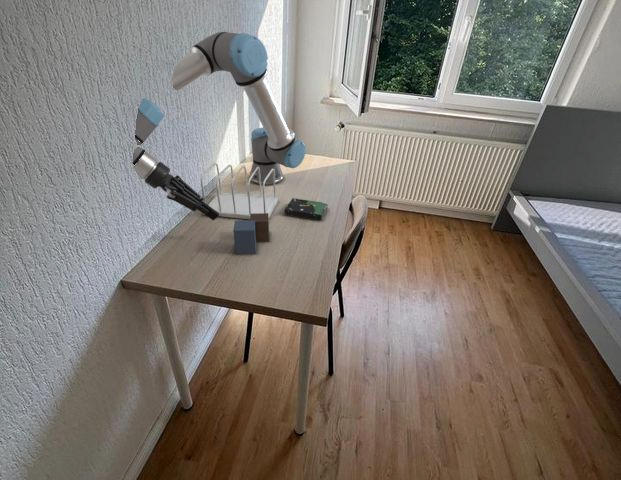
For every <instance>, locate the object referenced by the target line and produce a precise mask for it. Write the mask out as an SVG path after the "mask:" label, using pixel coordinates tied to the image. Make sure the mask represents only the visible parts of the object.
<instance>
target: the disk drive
mask: <svg viewBox="0 0 621 480" xmlns="http://www.w3.org/2000/svg"><path fill="white" fill-rule="evenodd" d="M328 207H329V206H328V203H326V202H320V201H313V200H308V199H301V198H296V197H295V198H294V197H292V198H291V200H290V201H289V202H288V204H287V206H285V208H284V215H286V216H291V217H296V218H304V219H309V220H314V221H315V220H316V221H322V220H323V219H324V216H325V214H326V212H327V210H328Z"/></svg>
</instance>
